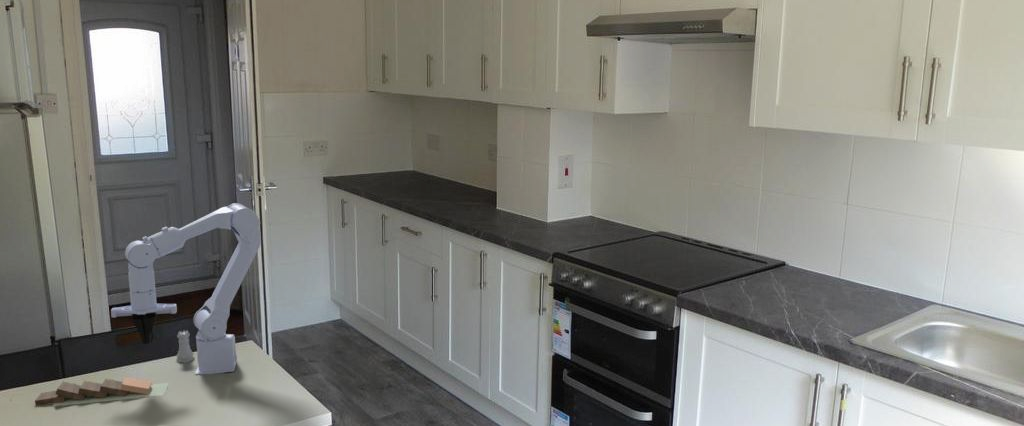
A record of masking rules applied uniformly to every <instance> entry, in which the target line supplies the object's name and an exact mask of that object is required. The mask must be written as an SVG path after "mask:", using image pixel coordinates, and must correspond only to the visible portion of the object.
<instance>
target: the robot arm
mask: <svg viewBox="0 0 1024 426" xmlns="http://www.w3.org/2000/svg"><path fill="white" fill-rule="evenodd" d="M260 226H261V221H260V218H259V217H258V214H257V212H256V211H254V210H253V209H251V208H248V207H247V206H245V205H244V204H242V203H239V202H237V203H236V202H235V203H231V204H229V205H227V206H223V207H220V208H218V209H216V210H214V211H212V212H210V213H208V214H206V215H205V216H202V217H200V218H198V219H196V220H194V221H192V222H190V223H188V224H186V225H184V226H182V227H181V228H177V227H174V226H170V227H168V226H164V227H162V228H161V230H160V231H159V232H157V233H154V234H152V235H150V236H148V237H147V236H146V235H145V236H143V237H142V240H133V241H132V242H130V243H129V244H128V245H127V246H126V248H125V251H124V253H123V254H124V256H125V258H126V260H127V261H128V265H127V269H128V273H127V275H128V286H129V287H128V288H129V297H130V305H126V306H119V307H112V308H111V310H110V315H111V318H117V317H129V316H131V323H132V324H133V325H134V327H135V328H136V329H137V332H138V333H139V336H140V337H141V338H140V339H141V341H142V344H143V345H146V344H147V345H148V344H150V343H151V341H152V334H153V333H152V332H153V328H154V325H155V322H156V321H157V317H158V315H161V314H171V315H172V314H173V315H174V314H175V315H176V314H177V311H178V307H177V303H157V302H158V301H157V292H156V279H155V277H156V276H155V270H154V262H155V260H156V259H161V258H162V257H164V256H166V255H169V254H171V253H173V252H176V251H178V250H180V249H182V248H183V247H184V245H185V243H186V241H187V240H189V239H192V238H195V237H197V236H200V235H203V234H205V233H208V232H209V231H212V230H214V229H225V230H230V231H231V230H232V231H233V234H234V235H235V238H236V240H237V245H236V247H235V249H234V251H233V253H232V255H231V256H230V259H229V261H228V263H227V265H226V267H225V269H224V271H223V273H222V275H221V277H220V279H219V280H218V283H217V285H216V286H215V288H214V290H213V292H212V295H211V297H208V299H207V300H206V301H205V302H204V304H203V305H202V307H201V308H199V310H197V311H196V312H195V314H194V316H193V324H194V327H196V328H197V329H198V330H197V333H196V335H195V340H196V341H195V343H196V353H197V355H196V356H197V363H198V364H197V368H196V370H195V373H194V375H196V376H200V375H210V374H211V375H212V374H220V373H231V372H235V368H236V367H237V366H236V365H237V362H238V358H237V356H238V355H237V349H236V337H235V334H233V333H232V334H230V333H228V334H227V333H226V331H227V328H228V327H227V325H228V324H227V323H228V319H229V317H230V311H231V310H230V309H231V305H232V303H233V301H234V298H235V297H236V294H237V293H238V290H239V289H240V286H241V285H242V284H243V283H242V282H243V281H244V278H245V277H246V275H247V272H248V271H249V269H250V266H251V265H252V264H253V263H252V262H253V260H254V258H255V257H256V255H257V253H258V251H259V249H260V246H261V244H262V242H261V230H260Z"/></svg>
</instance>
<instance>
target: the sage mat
mask: <svg viewBox="0 0 1024 426" xmlns="http://www.w3.org/2000/svg"><path fill="white" fill-rule="evenodd" d="M169 384H170V382H164V383H154V384H151V388H150V390H149V392H148V394H143V393H137V392H131V391H129V393H128V394H127V396H122V395H116V394H110V393H109V394H108V395H107V397H106V398H100V397H95V396H89V395H86V397H85V398H84V400H83V401H82V400H78V399H74V398H69V397H68V398H67V399H66V400H65V402H59V403H53V404H52V405H51V407H61V406H70V405H79V404H89V403H91V404H92V403H101V402H109V401H111V402H113V401H119V400H120V401H122V400H131V399H141V398H152V397H161V396H162V397H163V396H164V395H165V393H166V390H167V389H168V386H169Z"/></svg>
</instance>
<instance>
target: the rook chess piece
mask: <svg viewBox="0 0 1024 426" xmlns="http://www.w3.org/2000/svg"><path fill="white" fill-rule="evenodd" d="M190 335H191V334H190V333H189V330H183V331H182V330H181V331H178V332H177V335H176V337H177V339H178V344H179V346H178V352H177V354H176V361H177V362H178V363H187V362H191V361H193V360H194V359H195V356H194V352H193V351H192V349H191V346H190V338H189V337H190Z"/></svg>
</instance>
